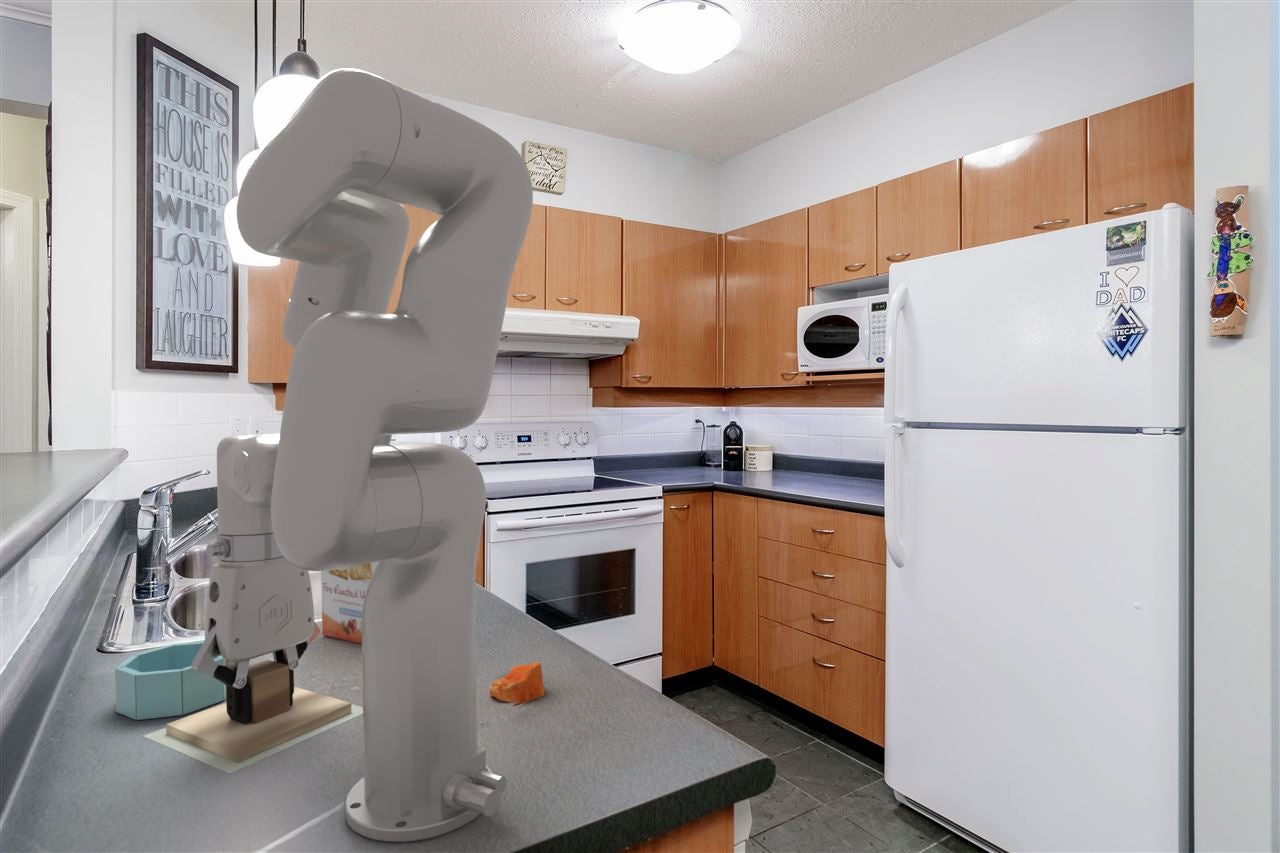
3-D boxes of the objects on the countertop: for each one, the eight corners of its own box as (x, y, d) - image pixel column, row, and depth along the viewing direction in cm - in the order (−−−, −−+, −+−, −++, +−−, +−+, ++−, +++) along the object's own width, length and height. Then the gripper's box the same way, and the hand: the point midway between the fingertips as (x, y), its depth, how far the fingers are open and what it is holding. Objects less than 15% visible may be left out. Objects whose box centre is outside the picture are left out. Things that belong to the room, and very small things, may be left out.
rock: (444, 710, 82) (444, 675, 82) (508, 675, 92) (507, 644, 92) (528, 730, 76) (527, 691, 76) (585, 690, 87) (584, 656, 87)
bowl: (250, 694, 85) (249, 650, 85) (151, 730, 75) (150, 680, 75) (200, 678, 90) (200, 636, 90) (102, 710, 81) (101, 663, 81)
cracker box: (319, 637, 107) (317, 502, 106) (352, 626, 112) (350, 498, 112) (383, 651, 100) (381, 507, 100) (414, 639, 106) (413, 502, 105)
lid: (351, 712, 79) (350, 659, 78) (237, 762, 67) (236, 701, 67) (281, 690, 85) (280, 642, 85) (166, 733, 74) (165, 677, 74)
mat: (370, 713, 79) (370, 710, 79) (230, 777, 65) (230, 773, 65) (284, 687, 87) (284, 684, 87) (142, 739, 73) (142, 735, 73)
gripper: (197, 564, 67) (201, 753, 67) (346, 537, 81) (349, 692, 82) (156, 557, 70) (160, 736, 71) (306, 532, 85) (309, 680, 85)
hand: (261, 710), depth 76 cm, fingers closed on lid, 4 cm apart
